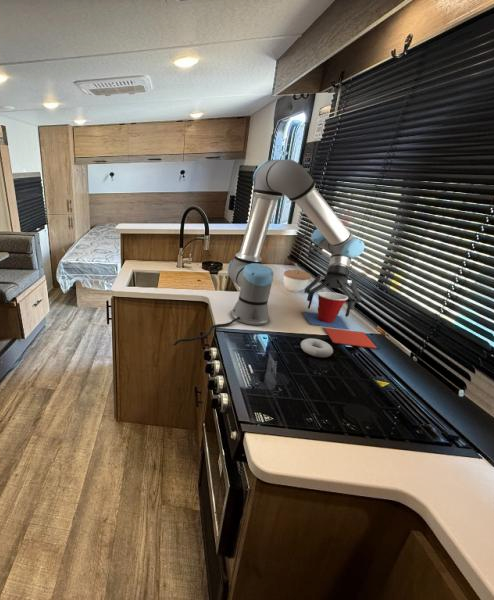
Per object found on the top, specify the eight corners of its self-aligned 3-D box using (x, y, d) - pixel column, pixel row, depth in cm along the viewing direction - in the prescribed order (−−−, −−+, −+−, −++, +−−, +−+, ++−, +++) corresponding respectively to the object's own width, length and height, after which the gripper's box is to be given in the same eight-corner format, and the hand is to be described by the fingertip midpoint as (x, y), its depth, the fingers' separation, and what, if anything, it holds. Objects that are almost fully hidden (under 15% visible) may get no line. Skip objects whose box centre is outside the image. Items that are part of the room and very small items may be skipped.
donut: (326, 346, 115) (296, 342, 117) (328, 339, 113) (298, 334, 116) (335, 361, 106) (303, 356, 108) (338, 353, 104) (306, 348, 107)
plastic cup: (331, 314, 138) (339, 290, 133) (345, 326, 128) (354, 299, 123) (306, 313, 139) (312, 289, 134) (318, 325, 129) (326, 299, 124)
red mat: (377, 349, 113) (377, 348, 113) (333, 343, 117) (333, 342, 117) (363, 333, 123) (363, 332, 123) (323, 328, 127) (324, 327, 127)
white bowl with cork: (298, 295, 159) (303, 275, 155) (275, 288, 169) (280, 269, 165) (311, 290, 165) (316, 271, 161) (288, 283, 175) (293, 265, 171)
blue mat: (348, 329, 127) (348, 328, 126) (309, 324, 131) (310, 323, 130) (338, 316, 137) (338, 315, 137) (303, 312, 141) (303, 311, 141)
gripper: (371, 277, 132) (361, 322, 126) (304, 268, 145) (293, 307, 139) (376, 269, 126) (366, 315, 120) (306, 259, 139) (294, 301, 133)
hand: (327, 311), depth 130 cm, fingers open, 13 cm apart
